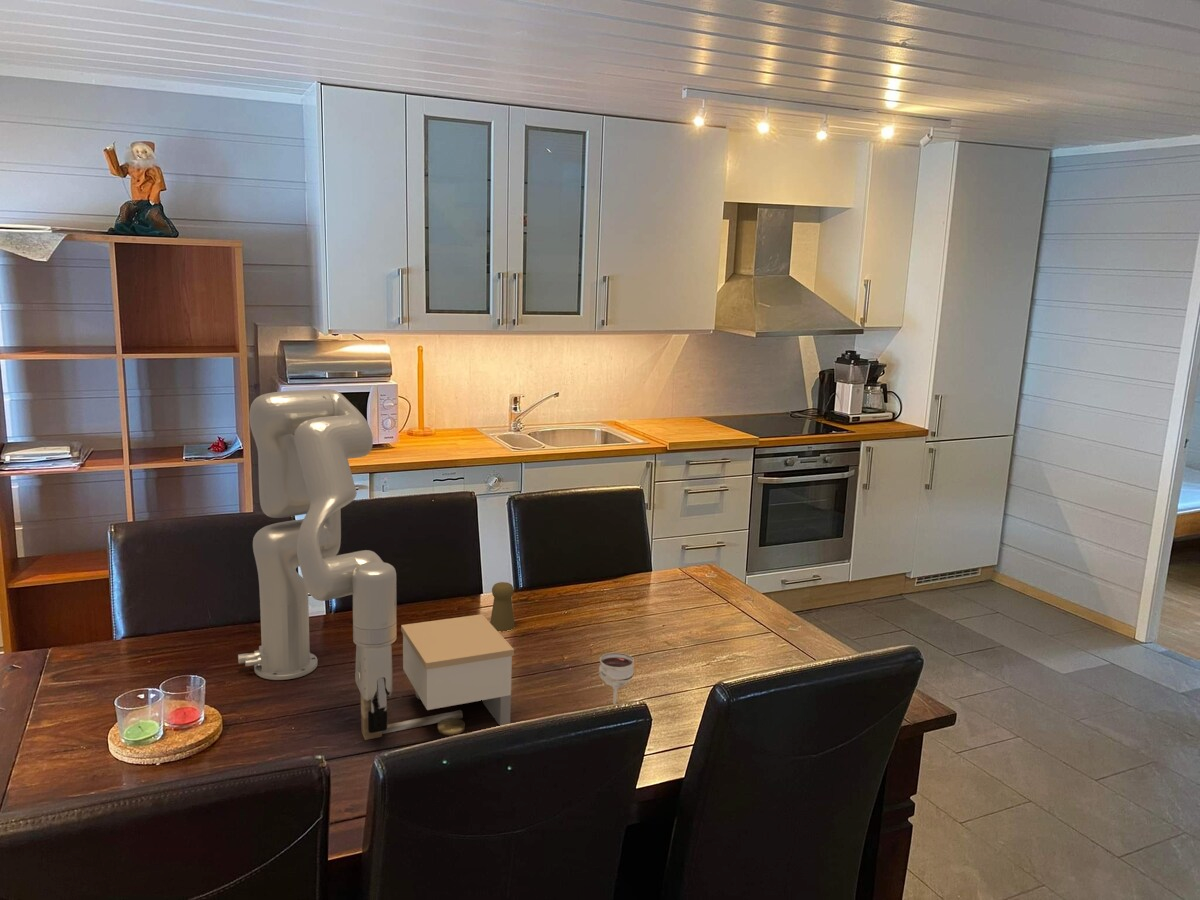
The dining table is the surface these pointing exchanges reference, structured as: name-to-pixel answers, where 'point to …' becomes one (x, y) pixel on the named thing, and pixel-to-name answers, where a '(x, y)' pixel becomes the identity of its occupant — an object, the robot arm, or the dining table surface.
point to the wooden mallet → (400, 725)
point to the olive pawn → (502, 607)
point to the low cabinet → (459, 664)
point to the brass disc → (451, 726)
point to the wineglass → (616, 670)
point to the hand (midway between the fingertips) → (375, 725)
